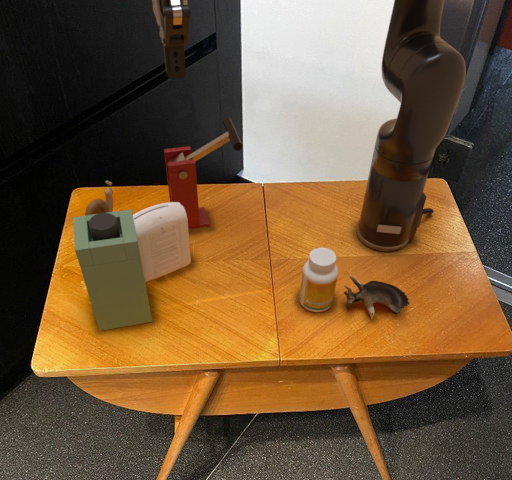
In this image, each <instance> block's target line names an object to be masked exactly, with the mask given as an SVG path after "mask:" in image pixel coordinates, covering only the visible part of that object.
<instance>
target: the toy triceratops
mask: <svg viewBox="0 0 512 480" xmlns="http://www.w3.org/2000/svg"><path fill="white" fill-rule="evenodd" d="M348 277H349V279H350V280H351V282H353V284H354V285H355V286H356V287H357V289H358V291H357V292H355V293H354V291H353V289H352V288H350V287H349V286H347V285H344V288H345V289H346V290H347V291H344V295H345V297H346V304H345V307H346V308H347V307H352V306H353V305H354V304H356V303H360V302H362V303H363V305H364V307H365V308H366V309H367V311H368V314H369V317H370V320H373V319H374V316H375V308H374V304H375V303H379V304H382V305H383V306H385V307H387V308H389V309H390V310H391V311H393V312H394V313H396V314H398V313H401V311H402V309H404V308H405V307H408V305H410V304H411V303H410V302H409V297H408V295H407V294H406V292H404V291H403V290H402V289H400V288H399V287H397V286H396V285H394V284H391V283H387V282H383V281H379V280H370V281H368V282H366V283H364V284H363V283H362V282H360V281H359V280H357V279H356V277H354V276H353V275H351V274H349V275H348Z"/></svg>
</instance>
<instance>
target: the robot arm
mask: <svg viewBox="0 0 512 480" xmlns="http://www.w3.org/2000/svg"><path fill="white" fill-rule="evenodd" d="M151 3H152V11H153V14H154V17H155V19H156V25H157V26H158V29H159V31H158V35H159V37H160V39H161V44H162V48H163V49H162V50H163V55H164V56H163V57H164V59H163V60H164V66H165V67H164V68H165V73H166V75H167V78H168V79H170V80H176V79H184V78H185V77H186V76H187V68H186V55H185V46H189V45H188V44H189V43H188V42H189V31H190V19H191V13H192V12H191V8H190V6H189V4H188V0H151ZM444 5H445V0H394V1H393V7H392V11H391V15H390V20H389V24H388V28H387V29H388V30H387V34H386V37H385V42H384V48H383V52H382V57H381V69H380V70H381V78H382V82H383V84H384V87H385V88H386V90H388V92H389V93H390V94H391V95H392V96H393V97H394V98H395V99H396V100H397V101H398V102H399V103H400V105H399V110H398V113H397V117H396V118H392V119H389V120H386V121H385V122H383V123H382V124H381V125H380V127H379V128H378V130H377V134H376V139H375V144H374V149H373V153H372V156H371V162H370V167H369V172H368V177H367V182H366V186H365V191H364V196H363V201H362V205H361V210H360V216H359V219H358V223H357V227H356V236H357V238H358V239H359V241H360V242H361V244H363V245H365V246H366V247H367V248H370V249H372V250H376V251H379V252H395V251H399V250H401V249H403V248H405V247H407V245H408V244H409V243H413V242H414V238H415V236H416V233H417V229H418V228H419V227H420V224H421V221H422V218H423V215H426V214H427V215H428V214H429V215H432V214H434V212H435V210H434V209H433V208H431V207H426V208H425V204H426V201H427V195H426V194H425V192H424V190H425V186H426V183H427V180H428V176H429V173H430V170H431V166H432V164H433V160H434V156H435V153H436V150H437V148H438V147H439V145H440V143H441V142H442V141H443V139H445V137H446V135H447V132H448V130H449V127H450V125H451V123H452V119H453V117H454V114H455V112H456V108H457V106H458V103H459V101H460V98H461V96H462V92H463V90H464V85H465V82H466V81H465V80H466V74H467V67H466V65H467V64H466V61H465V58H464V57H463V55H462V54H461V52H459V51H458V50H457V49H456V48H454V47H453V46H452V45H450V44H449V43H448V42H447V41H445V40H444V39H443V38H441V22H442V15H443V10H444Z"/></svg>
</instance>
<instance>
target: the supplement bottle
mask: <svg viewBox="0 0 512 480" xmlns="http://www.w3.org/2000/svg"><path fill="white" fill-rule="evenodd" d="M338 276H339V268H338V266H337V254H336V253H335V252H334V250H332V249H330V248H327V247H315V248H314V249H312V250H311V251H310V253H309V254H308V260H307V261H306V262H305V263H304V265H303V266H302V273H301V281H300V289H299V295H298V296H299V297H298V299H299V303H300V305H301V307H303V308H304V309H305V310H307V311H310V312H313V313H323V312H325V311H327V310H328V309H330V308H331V306H332V305H333V302H334V297H335V291H336V286H337V281H338V278H339V277H338Z"/></svg>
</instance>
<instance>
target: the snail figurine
mask: <svg viewBox="0 0 512 480" xmlns="http://www.w3.org/2000/svg"><path fill="white" fill-rule="evenodd" d="M105 184H106V185H108V186H112V185H113V182H112V181H109V180H107V179H106V180H105ZM103 194H104V196H105V200H103V199H101V198H97V199H93V200H92V201H90V203H89V204H87V206H86V208H85V210H84V211H85V212H84V216H86V215H93V214H99V213H108V212H114V198H113V195H114V191H113V188H112V187H107V188H105V190H104V193H103Z"/></svg>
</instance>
